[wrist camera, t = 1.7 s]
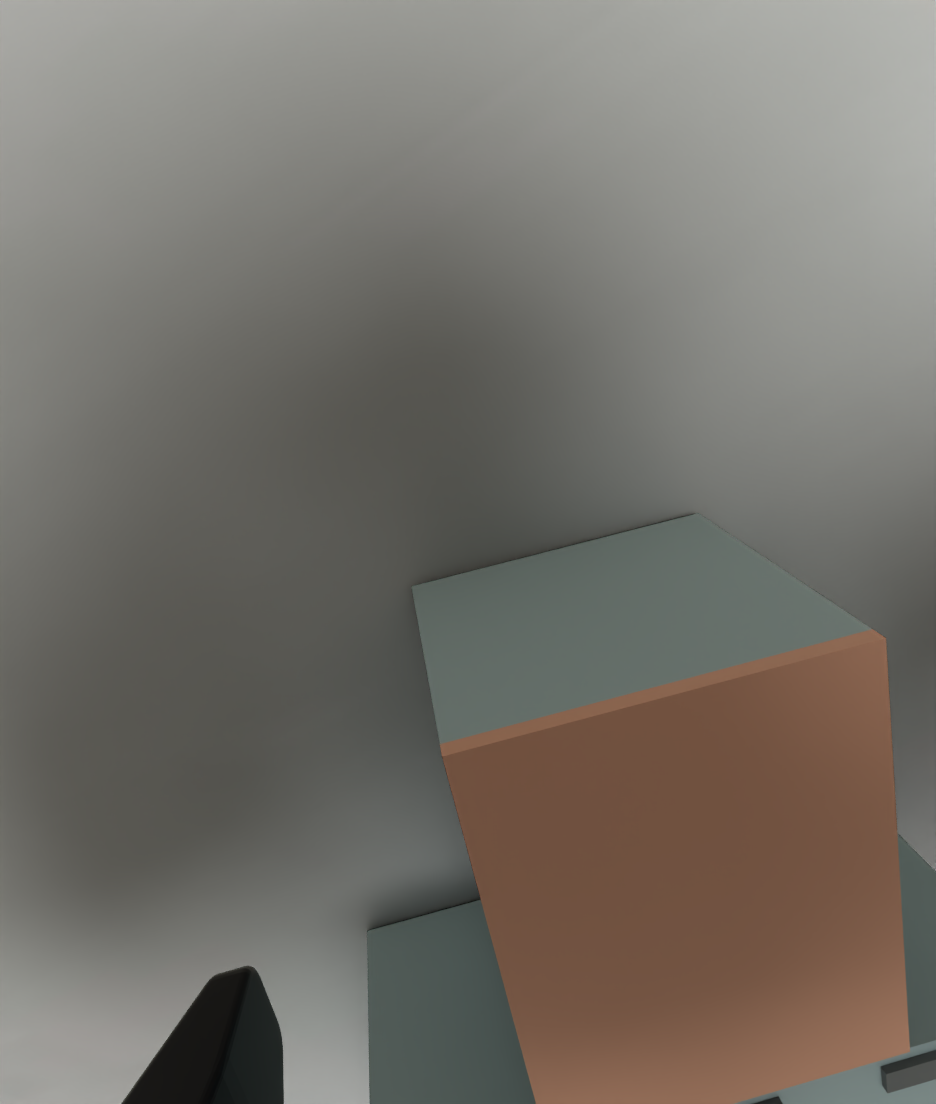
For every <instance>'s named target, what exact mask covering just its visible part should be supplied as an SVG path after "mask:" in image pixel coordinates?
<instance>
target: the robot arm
mask: <svg viewBox="0 0 936 1104" xmlns="http://www.w3.org/2000/svg"><path fill="white" fill-rule="evenodd" d="M122 1104H284V1089H283V1045H282V1037H281V1031H280V1027H279V1024H278V1021H277V1018H276V1016H275V1013H274V1011H273V1008H272V1006H271V1003H270V1001H269V998H268V996H267V993H266V991H265V988H264V986H263V983H262V981H261V978H260V976H259V974H258V972H257V971H256V970H255V968H253V967H250V966H244V967H241V968H237V969H234V970H230V971H226V972H223V973H219V974H217V975H215V976H213V977H212V978H211V979H210V980H209V981H208V982H207V984H206V985H205V986H204V988H203V989H202V991H201V992H200V993H199V995H198V996H197V998H196V999H195V1000H194V1002H193V1003H192V1005H191V1006H190V1008H189V1009H188V1010H187V1012H186V1013H185V1015H184V1016H183V1017H182V1019H181V1020H180V1022H179V1023H178V1024H177V1026H176V1027H175V1029H174V1030H173V1032H172V1033H171V1034H170V1036H169V1037H168V1039H167V1040H166V1041H165V1043H164V1044H163V1046H162V1047H161V1049H160V1050H159V1051H158V1053H157V1054H156V1056H155V1057H154V1058H153V1060H152V1061H151V1063H150V1064H149V1065H148V1067H147V1068H146V1070H145V1071H144V1073H143V1074H142V1075H141V1077H140V1078H139V1080H138V1081H137V1082H136V1084H135V1085H134V1087H133V1088H132V1089H131V1091H130V1092H129V1094H128V1095H127V1097H126V1098H125V1099H124V1101H123V1102H122Z"/></svg>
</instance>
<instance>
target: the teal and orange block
mask: <svg viewBox="0 0 936 1104" xmlns="http://www.w3.org/2000/svg"><path fill="white" fill-rule="evenodd" d="M411 587H412V592H413V598H414V604H415V609H416V615H417V620H418V626H419V631H420V637H421V642H422V648H423V654H424V659H425V665H426V670H427V676H428V681H429V687H430V693H431V698H432V704H433V709H434V715H435V720H436V726H437V731H438V737H439V743H440V748H441V754H442V758H443V762H444V766H445V769H446V773H447V777H448V781H449V784H450V788H451V792H452V795H453V799H454V803H455V806H456V810H457V814H458V817H459V821H460V825H461V829H462V832H463V836H464V840H465V843H466V847H467V851H468V854H469V858H470V862H471V866H472V869H473V873H474V877H475V880H476V884H477V888H478V891H479V895H480V899H481V903H482V906H483V910H484V914H485V917H486V921H487V925H488V928H489V932H490V936H491V940H492V943H493V947H494V951H495V954H496V958H497V962H498V965H499V969H500V973H501V976H502V980H503V984H504V988H505V991H506V995H507V999H508V1002H509V1006H510V1010H511V1013H512V1017H513V1021H514V1025H515V1028H516V1032H517V1036H518V1039H519V1043H520V1047H521V1050H522V1054H523V1058H524V1062H525V1065H526V1069H527V1073H528V1076H529V1080H530V1084H531V1087H532V1091H533V1095H534V1098H535V1102H536V1104H734V1103H738V1102H741V1101H745V1100H748V1099H751V1098H755V1097H758V1096H762V1095H765V1094H768V1093H772V1092H775V1091H779V1090H782V1089H785V1088H789V1087H792V1086H796V1085H799V1084H802V1083H806V1082H809V1081H813V1080H816V1079H819V1078H823V1077H826V1076H830V1075H833V1074H836V1073H840V1072H843V1071H847V1070H850V1069H853V1068H857V1067H860V1066H864V1065H867V1064H870V1063H874V1062H877V1061H881V1060H884V1059H887V1058H891V1057H894V1056H898V1055H901V1054H904V1053H908V1052H910V1042H909V1024H908V1007H907V990H906V973H905V956H904V938H903V921H902V904H901V887H900V870H899V852H898V835H897V818H896V801H895V783H894V766H893V749H892V732H891V715H890V697H889V680H888V663H887V646H886V638H885V637H884V636H882V635H881V634H879V633H878V632H876V631H875V630H873V629H872V628H870V627H869V626H867V625H866V624H864V623H863V622H861V621H860V620H858V619H857V618H855V617H854V616H852V615H851V614H849V613H848V612H846V611H845V610H843V609H842V608H840V607H839V606H837V605H836V604H834V603H833V602H831V601H830V600H828V599H827V598H825V597H824V596H822V595H820V594H819V593H817V592H816V591H814V590H813V589H811V588H810V587H808V586H807V585H805V584H804V583H802V582H801V581H799V580H798V579H796V578H795V577H793V576H792V575H790V574H789V573H787V572H786V571H784V570H783V569H781V568H780V567H778V566H777V565H775V564H774V563H772V562H771V561H769V560H768V559H766V558H765V557H763V556H762V555H760V554H759V553H757V552H756V551H754V550H753V549H751V548H750V547H748V546H747V545H745V544H744V543H742V542H741V541H739V540H738V539H736V538H735V537H733V536H732V535H730V534H729V533H727V532H726V531H724V530H723V529H721V528H720V527H718V526H717V525H715V524H714V523H712V522H711V521H709V520H708V519H706V518H705V517H703V516H702V515H700V514H699V513H697V514H693V515H689V516H685V517H681V518H677V519H673V520H670V521H666V522H662V523H658V524H654V525H650V526H646V527H642V528H638V529H634V530H630V531H626V532H623V533H619V534H615V535H611V536H607V537H603V538H599V539H595V540H591V541H587V542H583V543H579V544H576V545H572V546H568V547H564V548H560V549H556V550H552V551H548V552H544V553H540V554H536V555H532V556H529V557H525V558H521V559H517V560H513V561H509V562H505V563H501V564H497V565H493V566H489V567H485V568H482V569H478V570H474V571H470V572H466V573H462V574H458V575H454V576H450V577H446V578H442V579H438V580H435V581H431V582H427V583H423V584H419V585H415V586H411Z"/></svg>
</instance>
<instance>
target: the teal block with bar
mask: <svg viewBox="0 0 936 1104" xmlns="http://www.w3.org/2000/svg"><path fill="white" fill-rule="evenodd" d="M897 835H898V852H899V870H900V887H901V904H902V921H903V938H904V956H905V973H906V990H907V1007H908V1024H909V1042H910V1052H908V1053H904V1054H901V1055H898V1056H894V1057H891V1058H887V1059H884V1060H881V1061H877V1062H874V1063H870V1064H867V1065H864V1066H860V1067H857V1068H853V1069H850V1070H847V1071H843V1072H840V1073H836V1074H833V1075H830V1076H826V1077H823V1078H819V1079H816V1080H813V1081H809V1082H806V1083H802V1084H799V1085H796V1086H792V1087H789V1088H785V1089H782V1090H779V1091H775V1092H772V1093H768V1094H765V1095H762V1096H758V1097H755V1098H751V1099H748V1100H745V1101H741V1102H738V1103H734V1104H936V872H935V871H934V870H933V869H932V868H931V867H930V866H929V865H928V864H927V863H926V862H925V861H924V860H923V859H922V858H921V857H920V856H919V854H918V853H917V852H916V851H915V850H914V849H913V848H912V847H911V846H910V845H909V844H908V843H907V842H906V841H905V840H904V839H903V838H902V837H901V836H900V835H899V834H898V833H897ZM367 954H368V1021H369V1087H370V1104H536V1102H535V1098H534V1095H533V1091H532V1087H531V1084H530V1080H529V1076H528V1073H527V1069H526V1065H525V1062H524V1058H523V1054H522V1050H521V1047H520V1043H519V1039H518V1036H517V1032H516V1028H515V1025H514V1021H513V1017H512V1013H511V1010H510V1006H509V1002H508V999H507V995H506V991H505V988H504V984H503V980H502V976H501V973H500V969H499V965H498V962H497V958H496V954H495V951H494V947H493V943H492V940H491V936H490V932H489V928H488V925H487V921H486V917H485V914H484V910H483V906H482V903H481V900H478V901H474V902H471V903H467V904H463V905H460V906H456V907H452V908H449V909H445V910H442V911H438V912H434V913H431V914H427V915H424V916H420V917H416V918H413V919H409V920H405V921H402V922H398V923H395V924H391V925H387V926H384V927H380V928H376V929H373V930H369V931H367Z"/></svg>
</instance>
